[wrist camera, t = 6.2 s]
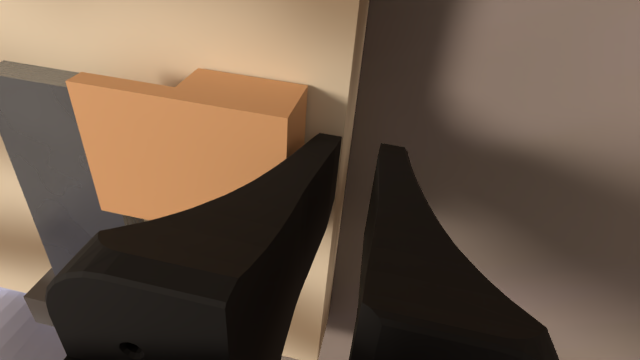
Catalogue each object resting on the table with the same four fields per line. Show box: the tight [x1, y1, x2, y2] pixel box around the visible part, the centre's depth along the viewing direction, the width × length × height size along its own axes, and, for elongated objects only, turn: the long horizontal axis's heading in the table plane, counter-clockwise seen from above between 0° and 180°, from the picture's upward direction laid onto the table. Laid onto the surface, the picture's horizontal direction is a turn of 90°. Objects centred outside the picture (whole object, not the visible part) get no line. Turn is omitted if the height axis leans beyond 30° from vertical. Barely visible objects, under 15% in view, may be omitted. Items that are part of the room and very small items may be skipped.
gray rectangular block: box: [0, 60, 144, 276], centre depth 15 cm, size 10×4×1 cm, turn 176°
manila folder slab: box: [65, 68, 308, 220], centre depth 12 cm, size 4×6×2 cm
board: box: [0, 0, 369, 360], centre depth 15 cm, size 18×17×4 cm
